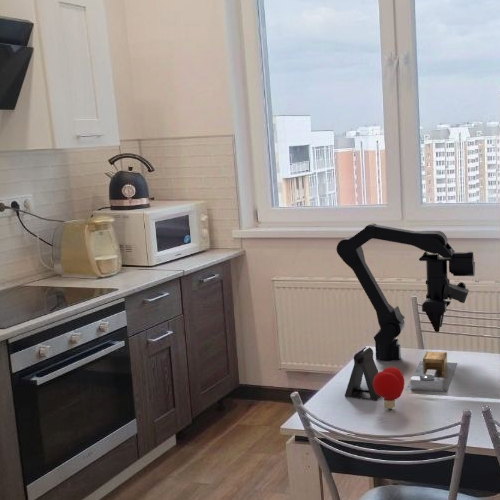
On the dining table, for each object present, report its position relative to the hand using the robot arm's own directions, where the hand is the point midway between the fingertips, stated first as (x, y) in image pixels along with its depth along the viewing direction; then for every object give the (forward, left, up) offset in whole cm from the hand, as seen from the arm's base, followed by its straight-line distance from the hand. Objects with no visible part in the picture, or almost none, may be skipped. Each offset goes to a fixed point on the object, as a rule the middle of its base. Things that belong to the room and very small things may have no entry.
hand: (438, 329), depth 214 cm
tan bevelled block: (0, -9, -9) cm, 13 cm away
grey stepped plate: (0, -14, -10) cm, 17 cm away
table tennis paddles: (-7, -39, -10) cm, 41 cm away
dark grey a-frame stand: (-15, -30, -10) cm, 35 cm away
